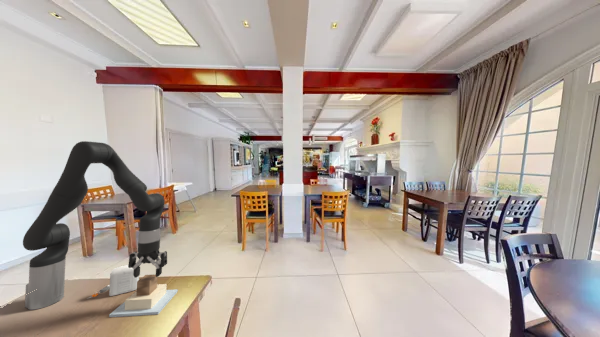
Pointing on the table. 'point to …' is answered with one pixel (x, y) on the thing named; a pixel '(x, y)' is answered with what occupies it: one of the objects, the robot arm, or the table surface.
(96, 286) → the table surface
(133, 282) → the photo printer
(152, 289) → the walnut block
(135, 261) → the robot arm
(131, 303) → the butter dish
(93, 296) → the key chain
